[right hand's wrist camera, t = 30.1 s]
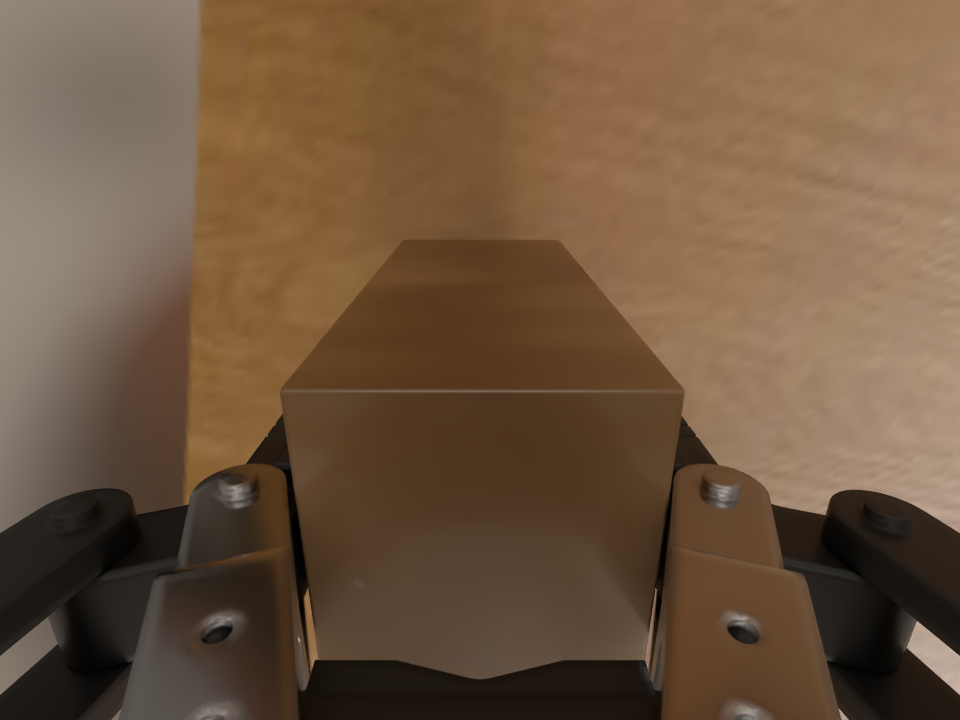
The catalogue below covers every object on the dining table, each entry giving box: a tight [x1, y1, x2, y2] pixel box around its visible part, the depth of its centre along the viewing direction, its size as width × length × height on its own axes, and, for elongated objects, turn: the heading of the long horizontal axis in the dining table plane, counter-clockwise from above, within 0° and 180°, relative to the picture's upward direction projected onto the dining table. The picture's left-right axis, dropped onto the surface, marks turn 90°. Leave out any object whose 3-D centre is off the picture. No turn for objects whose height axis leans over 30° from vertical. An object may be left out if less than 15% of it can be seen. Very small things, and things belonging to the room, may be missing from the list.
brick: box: [280, 240, 685, 679], centre depth 13 cm, size 5×5×12 cm
